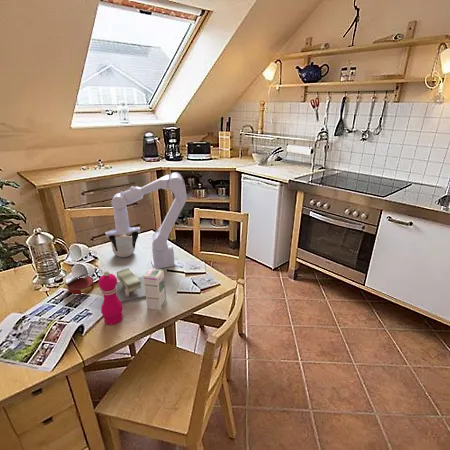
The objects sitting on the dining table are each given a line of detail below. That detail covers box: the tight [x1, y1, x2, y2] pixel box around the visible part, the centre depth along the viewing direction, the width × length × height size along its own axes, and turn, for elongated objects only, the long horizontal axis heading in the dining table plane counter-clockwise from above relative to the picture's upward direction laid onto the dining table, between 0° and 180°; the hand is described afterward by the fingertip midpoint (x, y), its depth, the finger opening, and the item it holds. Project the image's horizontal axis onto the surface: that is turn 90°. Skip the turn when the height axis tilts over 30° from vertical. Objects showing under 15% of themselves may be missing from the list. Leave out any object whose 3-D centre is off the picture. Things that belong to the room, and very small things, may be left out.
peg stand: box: [116, 276, 146, 304], centre depth 127 cm, size 18×14×4 cm
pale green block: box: [116, 268, 141, 292], centre depth 126 cm, size 12×5×3 cm, turn 38°
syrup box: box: [142, 267, 167, 311], centre depth 117 cm, size 6×6×14 cm
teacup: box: [110, 234, 136, 258], centre depth 156 cm, size 14×11×8 cm
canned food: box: [65, 272, 95, 294], centre depth 128 cm, size 11×10×10 cm
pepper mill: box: [98, 270, 124, 326], centre depth 108 cm, size 7×7×20 cm
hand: (125, 248), depth 142 cm, fingers open, 7 cm apart
